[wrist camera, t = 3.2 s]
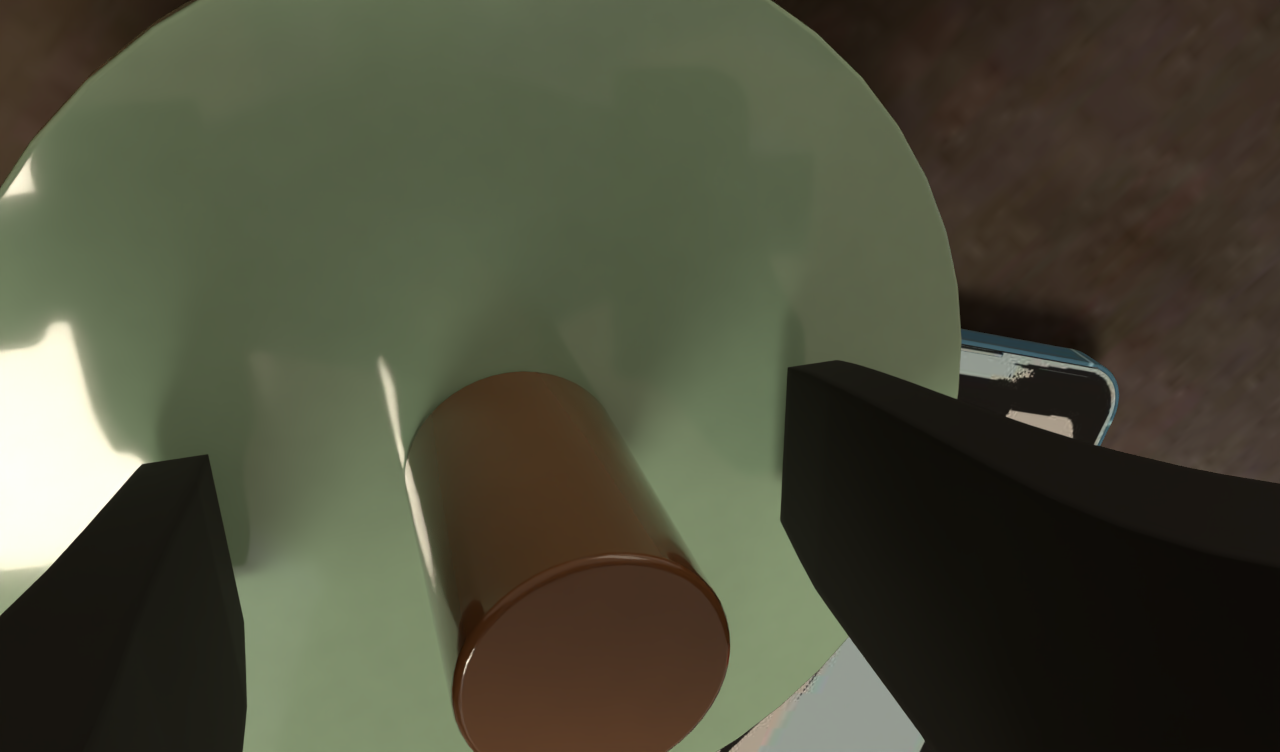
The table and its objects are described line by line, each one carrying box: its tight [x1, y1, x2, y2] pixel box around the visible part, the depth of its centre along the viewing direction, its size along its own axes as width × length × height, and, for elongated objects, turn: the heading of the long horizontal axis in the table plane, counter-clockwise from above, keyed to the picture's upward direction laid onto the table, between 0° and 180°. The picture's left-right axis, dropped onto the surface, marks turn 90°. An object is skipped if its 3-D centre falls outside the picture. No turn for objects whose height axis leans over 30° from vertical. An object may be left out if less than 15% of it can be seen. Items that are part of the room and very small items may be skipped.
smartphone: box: [717, 329, 1119, 752], centre depth 23 cm, size 7×1×15 cm
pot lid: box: [0, 0, 962, 752], centre depth 11 cm, size 11×11×5 cm
